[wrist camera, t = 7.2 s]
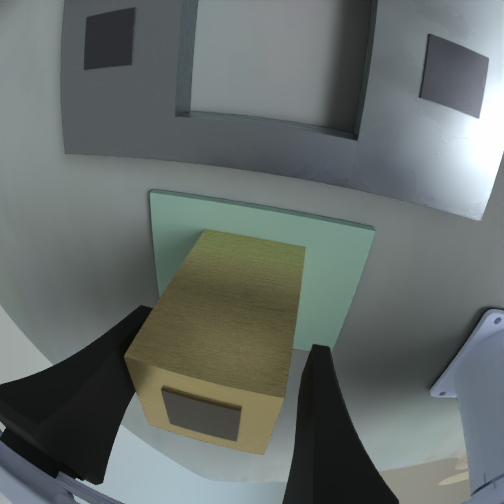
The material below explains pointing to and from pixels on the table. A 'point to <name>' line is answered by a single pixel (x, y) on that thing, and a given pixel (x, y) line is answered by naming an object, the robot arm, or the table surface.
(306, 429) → the robot arm
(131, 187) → the table surface
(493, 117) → the grey slotted base board
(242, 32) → the table surface
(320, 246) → the mat
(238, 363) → the tan box
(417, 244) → the table surface
